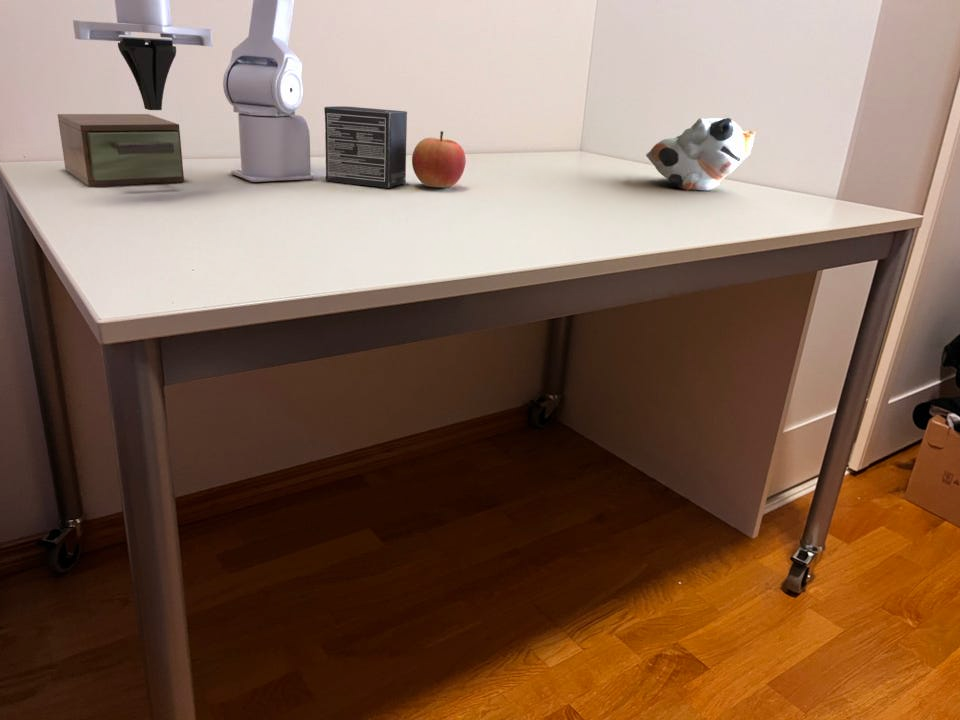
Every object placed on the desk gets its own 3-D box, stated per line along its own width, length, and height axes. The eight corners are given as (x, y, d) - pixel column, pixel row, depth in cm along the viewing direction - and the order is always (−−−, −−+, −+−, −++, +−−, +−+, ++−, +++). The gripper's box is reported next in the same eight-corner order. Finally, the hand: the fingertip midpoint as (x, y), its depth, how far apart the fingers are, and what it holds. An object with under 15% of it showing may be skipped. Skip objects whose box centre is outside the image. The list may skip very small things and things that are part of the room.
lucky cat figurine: (693, 177, 137) (744, 110, 130) (725, 216, 130) (781, 147, 122) (632, 152, 130) (682, 79, 122) (662, 192, 122) (717, 117, 114)
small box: (408, 183, 114) (409, 110, 110) (389, 189, 108) (390, 112, 104) (345, 175, 117) (344, 104, 113) (323, 181, 111) (322, 106, 107)
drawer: (194, 182, 100) (190, 136, 97) (105, 187, 93) (98, 138, 91) (154, 163, 112) (150, 122, 110) (72, 166, 106) (66, 122, 103)
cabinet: (184, 181, 105) (179, 124, 102) (88, 186, 98) (80, 125, 95) (154, 166, 114) (149, 114, 111) (65, 170, 107) (57, 114, 104)
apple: (440, 181, 118) (442, 127, 115) (475, 189, 112) (478, 133, 109) (399, 184, 112) (400, 128, 109) (434, 193, 107) (436, 135, 104)
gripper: (77, -27, 78) (95, 112, 83) (218, -13, 86) (226, 112, 91) (62, -25, 83) (79, 106, 88) (196, -12, 91) (205, 107, 96)
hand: (153, 109), depth 90 cm, fingers closed
